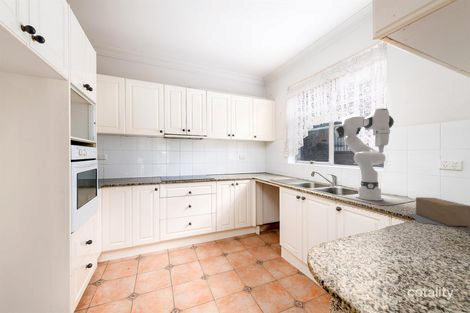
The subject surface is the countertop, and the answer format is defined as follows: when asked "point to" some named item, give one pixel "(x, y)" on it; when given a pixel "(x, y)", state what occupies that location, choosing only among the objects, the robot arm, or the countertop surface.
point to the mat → (425, 220)
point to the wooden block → (443, 211)
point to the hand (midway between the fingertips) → (381, 152)
